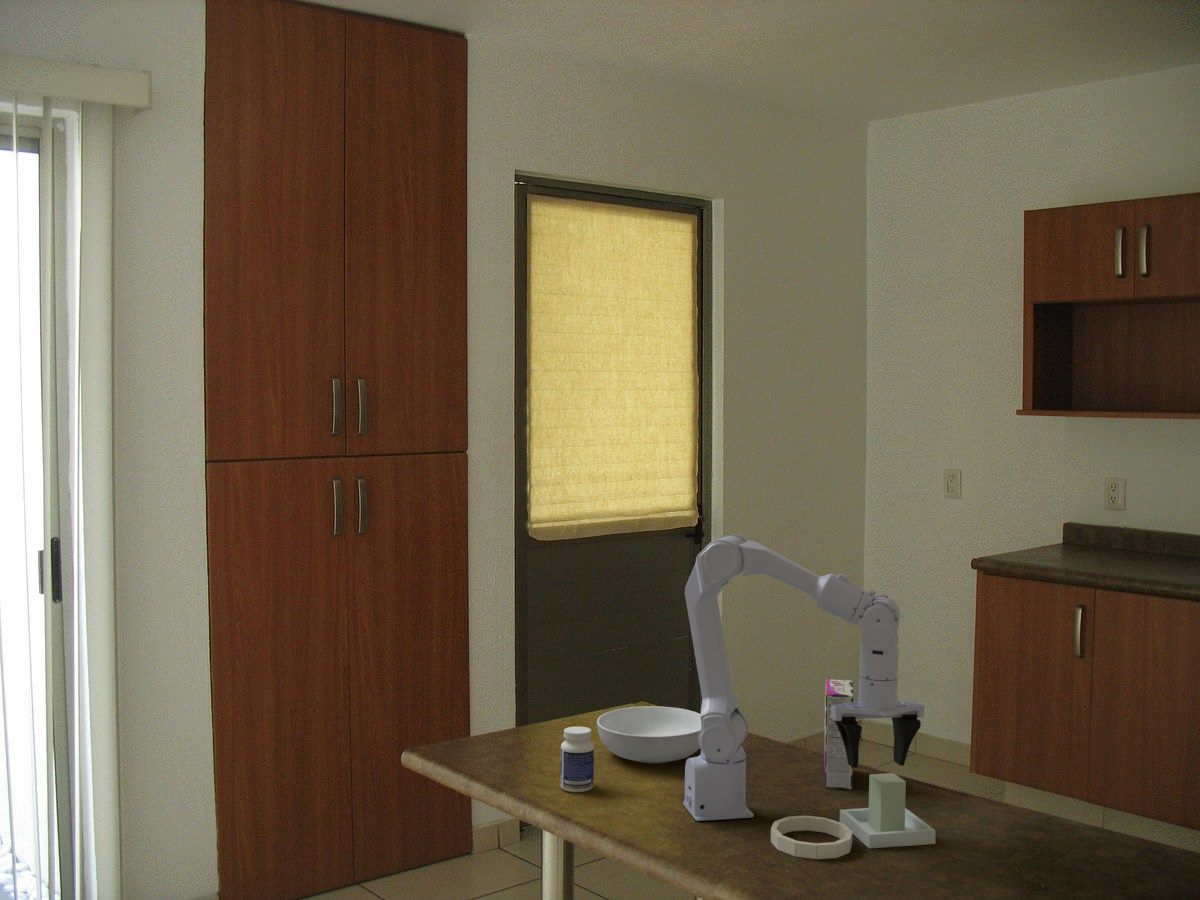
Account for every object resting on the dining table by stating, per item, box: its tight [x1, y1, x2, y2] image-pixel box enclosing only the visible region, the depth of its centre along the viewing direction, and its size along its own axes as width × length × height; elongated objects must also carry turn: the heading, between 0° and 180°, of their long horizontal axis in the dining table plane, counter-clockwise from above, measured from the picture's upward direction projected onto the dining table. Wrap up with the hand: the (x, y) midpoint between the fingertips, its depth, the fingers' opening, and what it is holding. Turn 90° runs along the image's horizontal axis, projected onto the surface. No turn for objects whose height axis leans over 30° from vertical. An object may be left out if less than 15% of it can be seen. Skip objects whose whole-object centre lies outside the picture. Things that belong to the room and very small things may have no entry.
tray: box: [839, 807, 937, 849], centre depth 170 cm, size 11×11×2 cm
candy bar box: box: [823, 678, 855, 790], centre depth 195 cm, size 11×5×16 cm, turn 168°
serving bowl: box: [596, 705, 701, 765], centre depth 207 cm, size 21×21×7 cm
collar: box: [770, 815, 853, 860], centre depth 166 cm, size 12×12×2 cm
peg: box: [868, 772, 907, 832], centre depth 170 cm, size 4×4×8 cm
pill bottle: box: [559, 726, 595, 793], centre depth 189 cm, size 6×6×10 cm
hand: (876, 764), depth 171 cm, fingers open, 7 cm apart
